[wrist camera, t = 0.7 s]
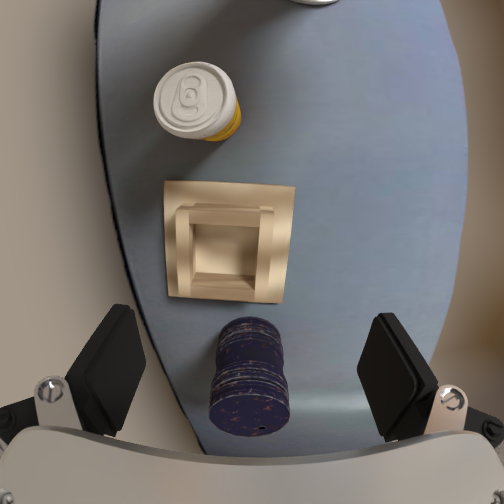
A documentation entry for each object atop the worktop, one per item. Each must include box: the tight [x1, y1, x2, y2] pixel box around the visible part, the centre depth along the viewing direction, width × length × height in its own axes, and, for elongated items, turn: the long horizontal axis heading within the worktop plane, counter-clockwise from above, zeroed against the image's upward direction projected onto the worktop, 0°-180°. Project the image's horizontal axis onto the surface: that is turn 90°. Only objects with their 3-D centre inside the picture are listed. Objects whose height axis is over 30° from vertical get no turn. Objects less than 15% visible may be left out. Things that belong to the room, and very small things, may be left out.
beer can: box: [153, 62, 241, 141], centre depth 23 cm, size 6×6×15 cm
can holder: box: [164, 180, 295, 303], centre depth 34 cm, size 16×16×5 cm
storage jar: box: [208, 317, 290, 437], centre depth 35 cm, size 10×10×15 cm
